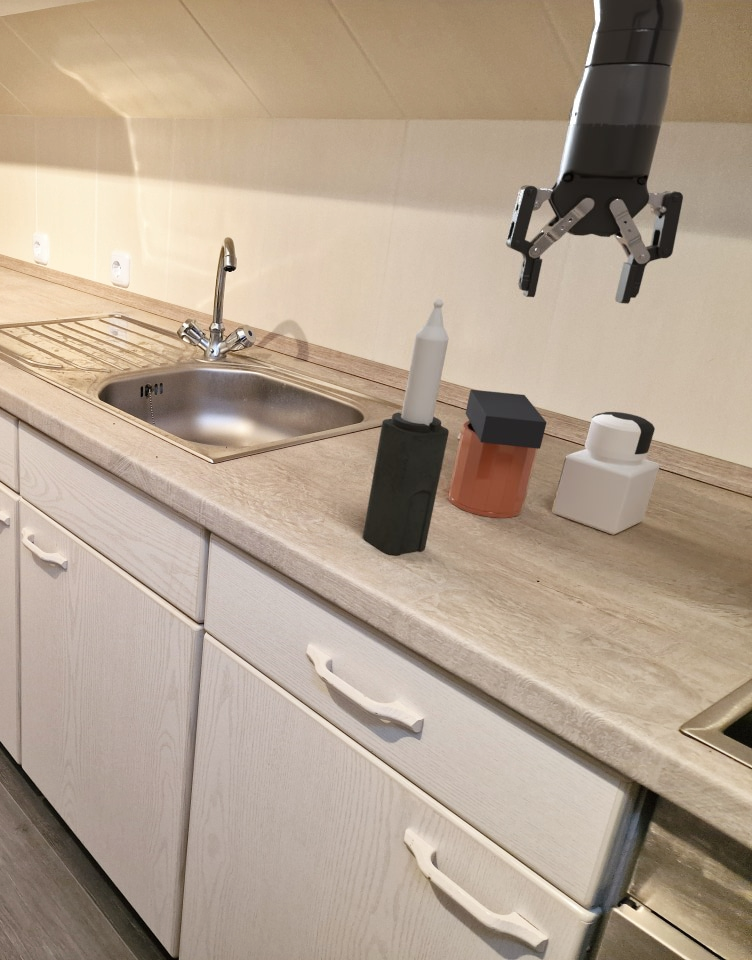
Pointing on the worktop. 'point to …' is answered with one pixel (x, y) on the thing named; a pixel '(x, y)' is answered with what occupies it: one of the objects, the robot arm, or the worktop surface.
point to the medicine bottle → (609, 474)
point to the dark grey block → (505, 419)
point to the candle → (410, 452)
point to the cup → (490, 476)
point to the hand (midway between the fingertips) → (574, 299)
